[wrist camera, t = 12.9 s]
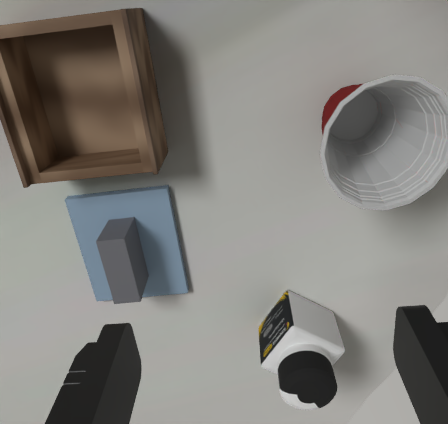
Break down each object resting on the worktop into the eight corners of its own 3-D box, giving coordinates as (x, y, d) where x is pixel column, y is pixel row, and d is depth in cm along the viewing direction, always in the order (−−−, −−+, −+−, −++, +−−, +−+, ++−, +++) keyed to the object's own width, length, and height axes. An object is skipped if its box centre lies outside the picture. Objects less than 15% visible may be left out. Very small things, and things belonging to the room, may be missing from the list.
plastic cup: (421, 134, 45) (480, 176, 34) (324, 180, 47) (350, 232, 36) (386, 35, 41) (440, 46, 30) (281, 90, 43) (297, 119, 32)
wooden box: (9, 25, 41) (-31, 29, 35) (142, 8, 40) (125, 8, 34) (51, 163, 47) (23, 187, 41) (168, 151, 46) (157, 174, 40)
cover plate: (69, 194, 49) (46, 220, 43) (168, 183, 48) (159, 207, 42) (100, 293, 55) (84, 328, 49) (189, 285, 54) (183, 319, 48)
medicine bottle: (286, 288, 53) (299, 359, 43) (334, 310, 55) (358, 386, 44) (257, 327, 56) (262, 403, 45) (303, 347, 58) (318, 427, 47)
